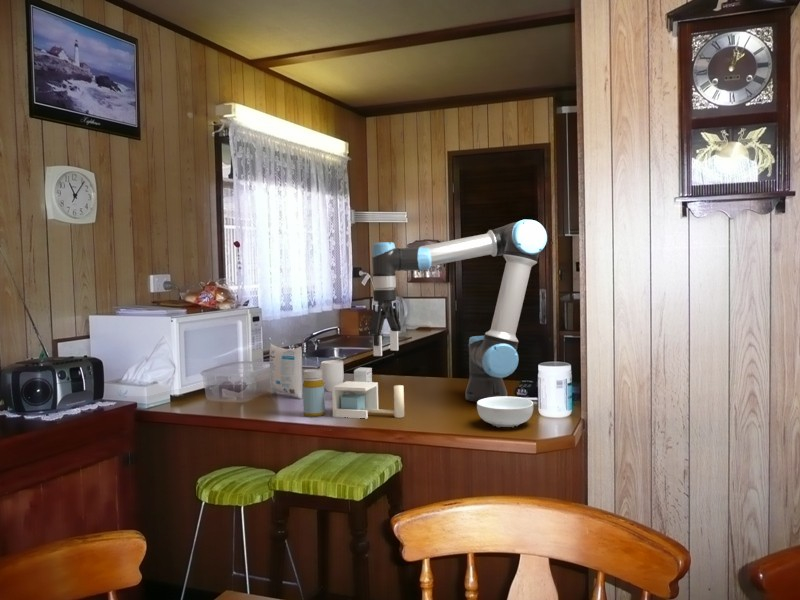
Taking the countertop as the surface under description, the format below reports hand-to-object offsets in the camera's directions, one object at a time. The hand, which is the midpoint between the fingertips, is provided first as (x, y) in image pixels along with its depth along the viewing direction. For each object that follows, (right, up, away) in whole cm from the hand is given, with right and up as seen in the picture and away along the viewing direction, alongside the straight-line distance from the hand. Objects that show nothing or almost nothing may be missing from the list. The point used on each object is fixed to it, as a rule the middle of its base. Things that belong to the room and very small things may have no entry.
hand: (386, 353), depth 212 cm
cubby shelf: (-10, -21, +1) cm, 23 cm away
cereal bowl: (+37, -20, -19) cm, 46 cm away
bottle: (-24, -21, +2) cm, 32 cm away
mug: (-23, -19, +44) cm, 53 cm away
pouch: (-39, -20, +35) cm, 56 cm away
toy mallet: (-4, -20, -2) cm, 21 cm away
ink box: (-9, -20, +23) cm, 31 cm away
